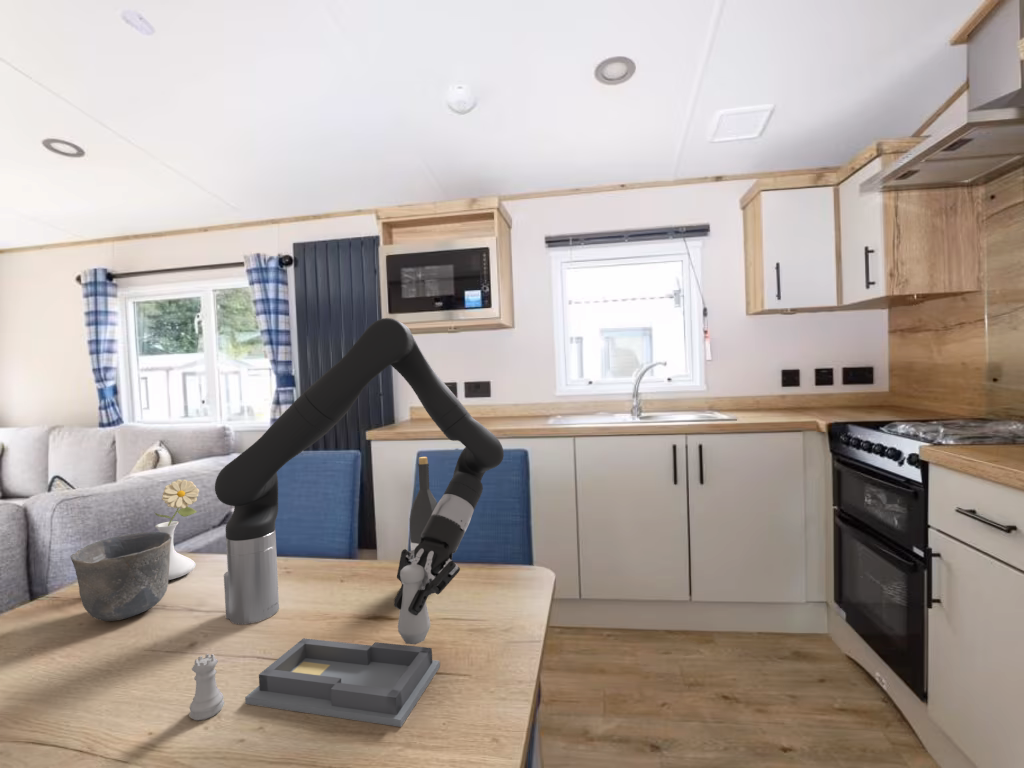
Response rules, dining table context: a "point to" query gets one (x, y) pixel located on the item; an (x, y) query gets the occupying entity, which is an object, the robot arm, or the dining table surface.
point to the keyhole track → (347, 680)
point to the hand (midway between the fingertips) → (405, 610)
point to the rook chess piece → (206, 689)
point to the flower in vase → (178, 497)
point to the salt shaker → (409, 624)
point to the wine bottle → (421, 505)
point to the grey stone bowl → (123, 574)
